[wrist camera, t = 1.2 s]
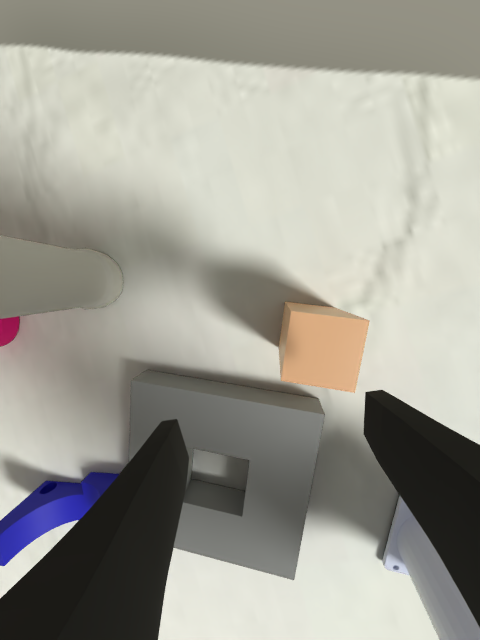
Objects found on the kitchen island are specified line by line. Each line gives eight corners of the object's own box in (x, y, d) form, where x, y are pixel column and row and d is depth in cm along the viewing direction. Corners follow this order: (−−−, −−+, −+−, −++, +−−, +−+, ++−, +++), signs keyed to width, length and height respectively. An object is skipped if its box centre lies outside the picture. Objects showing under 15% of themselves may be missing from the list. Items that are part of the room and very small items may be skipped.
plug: (334, 307, 19) (369, 320, 12) (326, 354, 19) (354, 392, 13) (285, 301, 19) (291, 311, 12) (278, 347, 20) (280, 380, 13)
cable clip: (143, 473, 24) (102, 533, 19) (148, 509, 25) (110, 578, 19) (44, 468, 26) (-22, 521, 20) (52, 502, 27) (-10, 564, 21)
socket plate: (318, 398, 20) (324, 414, 18) (291, 548, 23) (294, 580, 20) (147, 369, 22) (131, 380, 20) (141, 510, 25) (126, 535, 22)
